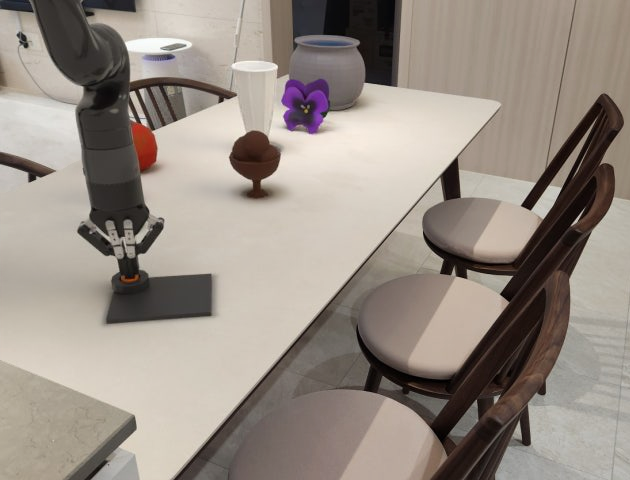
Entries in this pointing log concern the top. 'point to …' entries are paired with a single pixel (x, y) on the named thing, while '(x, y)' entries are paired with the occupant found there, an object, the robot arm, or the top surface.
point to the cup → (256, 94)
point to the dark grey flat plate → (160, 298)
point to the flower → (306, 104)
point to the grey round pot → (330, 66)
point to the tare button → (129, 279)
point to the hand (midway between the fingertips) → (130, 276)
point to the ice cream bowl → (254, 160)
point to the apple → (144, 145)
